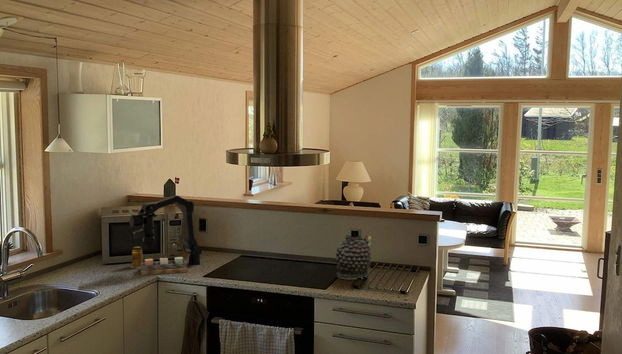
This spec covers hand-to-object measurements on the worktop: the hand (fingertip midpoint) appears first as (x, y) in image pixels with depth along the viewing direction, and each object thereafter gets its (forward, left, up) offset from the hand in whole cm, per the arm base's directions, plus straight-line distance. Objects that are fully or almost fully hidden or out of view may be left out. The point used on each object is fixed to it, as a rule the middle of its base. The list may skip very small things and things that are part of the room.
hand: (148, 251), depth 340 cm
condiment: (+5, -14, -12) cm, 19 cm away
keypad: (-9, 0, -12) cm, 15 cm away
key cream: (-9, 0, -8) cm, 12 cm away
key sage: (-17, 0, -8) cm, 19 cm away
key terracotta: (0, 0, -8) cm, 8 cm away
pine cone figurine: (-111, +43, -12) cm, 119 cm away
